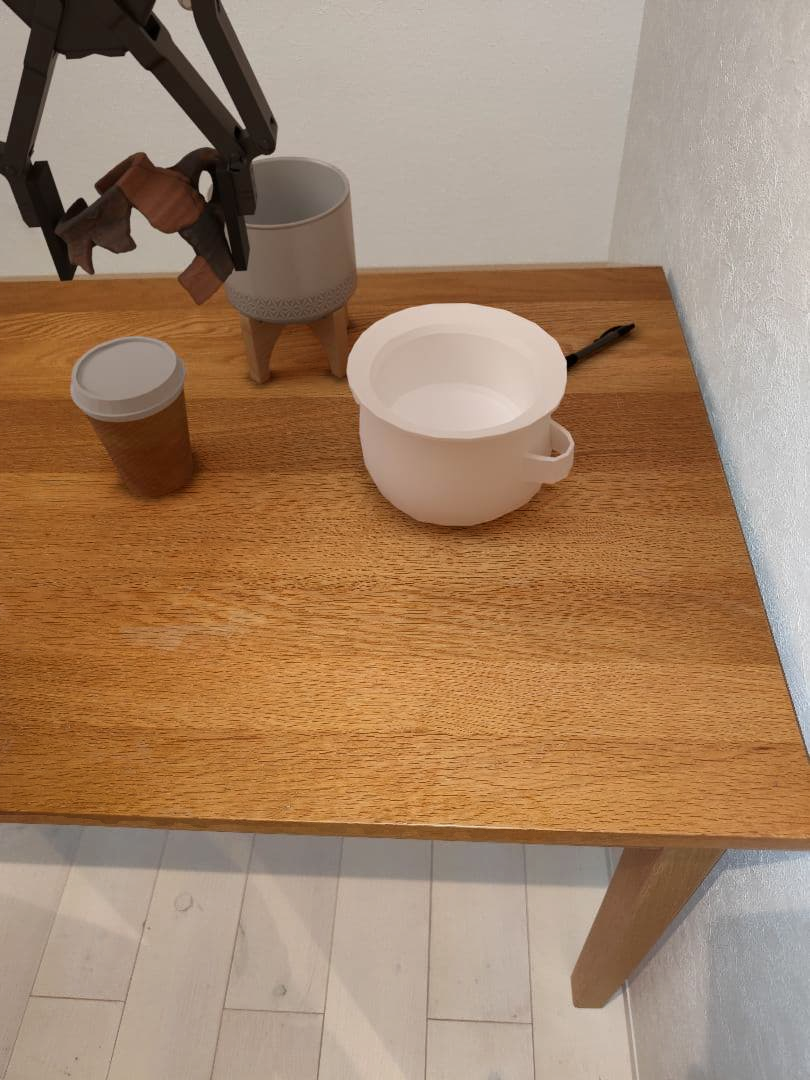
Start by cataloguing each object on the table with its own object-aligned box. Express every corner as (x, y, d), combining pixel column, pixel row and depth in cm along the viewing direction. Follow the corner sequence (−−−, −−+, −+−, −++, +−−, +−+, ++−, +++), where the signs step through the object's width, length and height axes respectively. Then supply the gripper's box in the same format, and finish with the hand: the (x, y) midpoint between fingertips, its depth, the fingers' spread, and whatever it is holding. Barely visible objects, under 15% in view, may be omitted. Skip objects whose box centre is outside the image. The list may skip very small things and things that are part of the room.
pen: (625, 325, 95) (626, 316, 94) (637, 332, 94) (638, 323, 93) (528, 378, 89) (529, 369, 88) (539, 386, 88) (540, 377, 88)
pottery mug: (179, 342, 53) (75, 229, 48) (118, 345, 60) (22, 246, 56) (299, 208, 57) (212, 91, 52) (227, 226, 64) (145, 125, 59)
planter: (302, 301, 100) (280, 143, 87) (388, 345, 94) (379, 182, 81) (214, 357, 94) (176, 195, 80) (300, 407, 88) (274, 242, 74)
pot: (300, 479, 81) (281, 371, 72) (413, 381, 90) (410, 273, 81) (504, 590, 72) (513, 481, 63) (608, 467, 81) (629, 357, 72)
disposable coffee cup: (85, 483, 82) (40, 378, 73) (159, 425, 87) (126, 320, 78) (158, 524, 78) (121, 419, 69) (232, 461, 83) (206, 355, 74)
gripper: (-246, -133, 38) (-38, 307, 55) (286, -161, 39) (333, 287, 55) (-178, -171, 43) (-7, 243, 60) (292, -195, 44) (334, 224, 60)
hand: (156, 264), depth 58 cm, fingers closed on pottery mug, 10 cm apart
